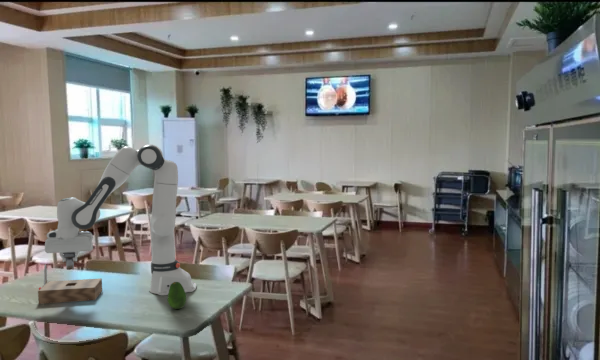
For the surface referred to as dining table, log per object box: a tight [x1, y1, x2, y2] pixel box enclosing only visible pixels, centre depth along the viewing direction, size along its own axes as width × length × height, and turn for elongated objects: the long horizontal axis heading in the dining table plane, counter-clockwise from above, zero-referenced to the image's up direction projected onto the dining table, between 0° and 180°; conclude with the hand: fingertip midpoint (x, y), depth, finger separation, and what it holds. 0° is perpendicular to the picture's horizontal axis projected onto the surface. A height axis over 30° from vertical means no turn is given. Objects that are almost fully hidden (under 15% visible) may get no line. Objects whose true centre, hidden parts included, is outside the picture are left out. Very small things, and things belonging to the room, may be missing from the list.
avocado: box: [167, 282, 187, 310], centre depth 199 cm, size 8×8×12 cm
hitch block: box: [37, 278, 103, 305], centre depth 216 cm, size 24×14×6 cm, turn 101°
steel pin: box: [63, 252, 76, 271], centre depth 214 cm, size 5×5×8 cm
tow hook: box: [38, 264, 48, 290], centre depth 229 cm, size 8×13×9 cm
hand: (69, 261), depth 214 cm, fingers closed on steel pin, 3 cm apart
